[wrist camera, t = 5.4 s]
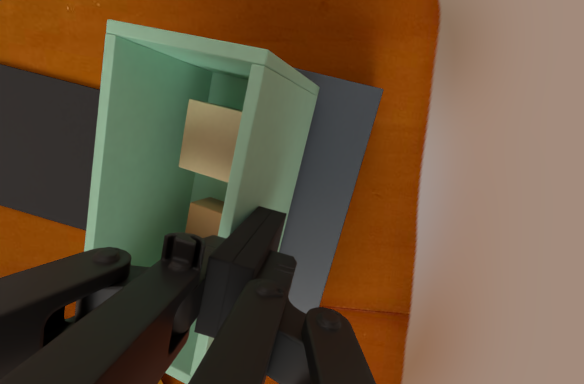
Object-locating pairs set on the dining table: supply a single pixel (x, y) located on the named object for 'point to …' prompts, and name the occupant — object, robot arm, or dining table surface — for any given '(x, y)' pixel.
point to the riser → (326, 181)
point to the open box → (169, 134)
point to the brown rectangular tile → (204, 217)
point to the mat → (46, 145)
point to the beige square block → (209, 139)
